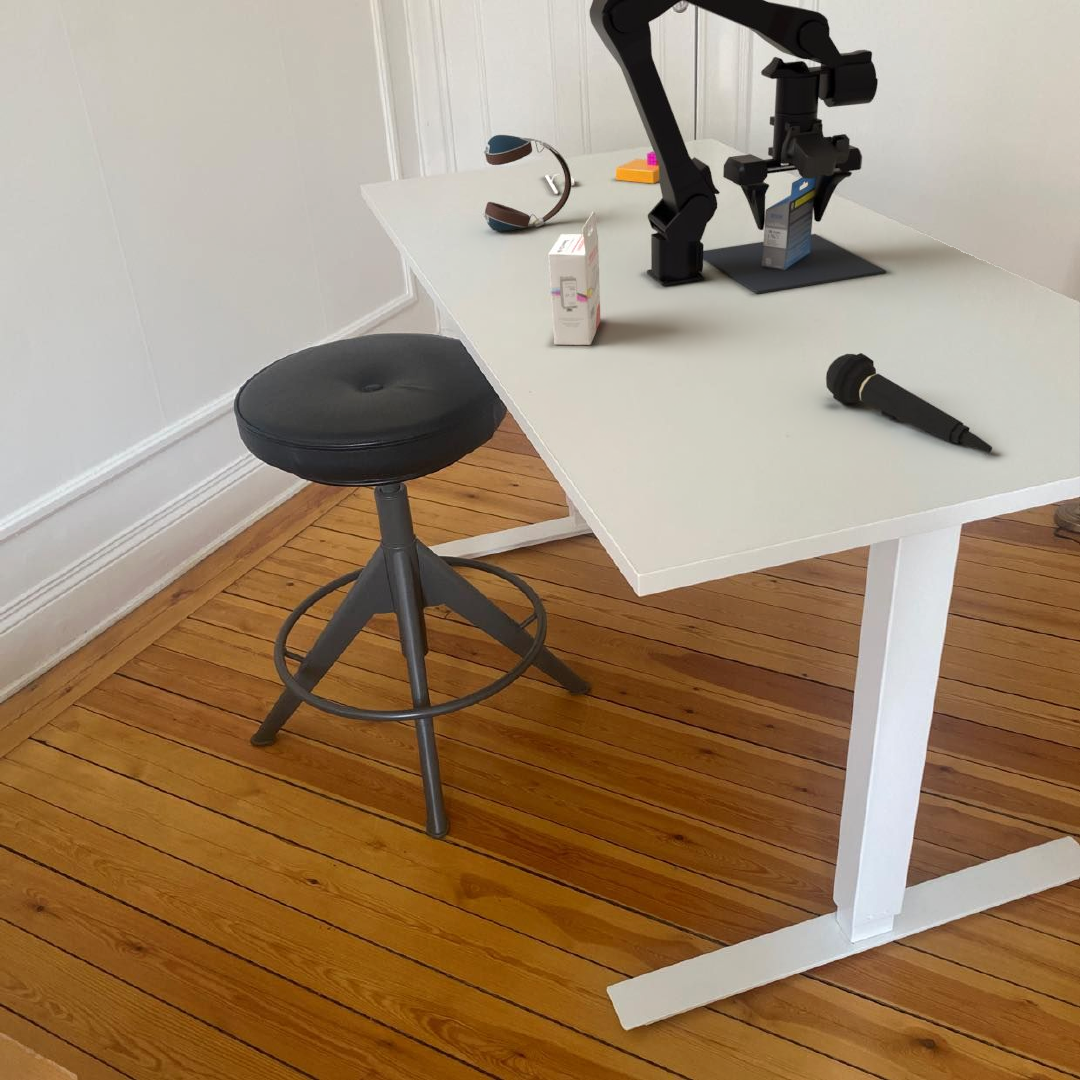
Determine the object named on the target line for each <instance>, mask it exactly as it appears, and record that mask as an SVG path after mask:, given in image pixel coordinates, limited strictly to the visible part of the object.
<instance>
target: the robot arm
mask: <svg viewBox="0 0 1080 1080" xmlns="http://www.w3.org/2000/svg"><path fill="white" fill-rule="evenodd" d="M681 2H685V3H687V4H689V5H692V6H694V7H697V8H698V9H701V10H704V11H706V12H708V13H711V14H712V15H713V14H714V15H716V16H718V17H720V18H723V19H726V20H728V21H730V22H732V23H735V24H738V25H740V26H743V27H745V28H747V29H749V30H750V31H752V32H753V33H755V34H756V35H757V36H758V37H760V38H761V39H762V40H763V41H764V42H766V43H768V44H769V45H771V46H772V47H774V48H775V49H777V50H778V51H780V52H781V53H783V54H787V55H789V56H792V57H796V58H798V59H801V60H798V61H797V60H796V61H788V62H784V60H783V59H782V58H780V57H777V56H774V57H773V58H772V60H771V61H770V62H769V63H768V64H767V65H766V66H765V67H764V68H763V69H762V70H761V72H760V74H761V76H763V77H766V78H768V79H771V80H775V98H774V115H773V116H769V125H770V126H773V138H772V139H773V140H772V146H769V147H768V149H767V155H768V156H770V157H771V158H768V159H763V158H761V157H759V156H756V155H754V154H751V153H749V154H741V155H740V154H739V155H734V156H728V157H727V159H726V161H725V162H724V164H723V175H722V176H723V178H724V179H726V180H728V181H729V182H732V183H733V184H735V185H737V186H739V187H740V188H741V190H742V193H743V195H744V196H745V198H746V200H747V203H748V205H749V208H750V211H751V214H752V216H753V219H754V221H755V225H756V227H757V229H758V230H760V231H764V228H765V214H766V194H767V191H768V189H769V187H770V184H768V183H766V182H765V180H766V179H767V178H768V174H769V175H770V174H775V173H783V172H791V171H798V174H799V176H800V177H801V178H802V177H803V178H807V179H810V178H813V177H815V176H817V179H816V184H815V193H814V204H813V219H814V221H815V222H817V223H819V222H821V221H822V218H823V216H824V214H825V212H826V209H827V207H828V205H829V202H830V201H831V198H832V197H833V194H834V192H835V190H836V188H837V186H838V185H839V184H840V183H841V182H842V181H843V180H844V179H846V178H850V177H851V176H852V174H853V171H860V170H861V169H862V165H863V155H862V152H861V150H860V148H859V147H856V146H854V145H851V144H850V137H849V136H847V134H845V133H842V134H835V135H832V136H831V135H830V136H824V132H823V127H824V126H823V125H824V124H823V119H822V118H821V119H820V118H819V117H818V113H819V111H818V110H819V100H820V101H823V103H824V105H825V106H826V107H827V108H834V107H843V106H844V107H846V106H856V105H865V104H870V103H871V102H872V101H873V100H875V99H874V98H875V96H876V93H877V90H878V84H879V83H878V82H879V79H878V78H877V71H876V67H875V64H874V62H873V60H872V59H873V51H871V50H867V49H857V50H854V51H851V52H840V51H839V49H838V47H837V46H836V44H835V43H834V41H833V39H832V38H831V37H830V25H829V19H828V18H827V17H826V16H825V15H824V14H822V13H821V12H819V11H815V10H812V9H807V8H802V7H799V6H792V5H788V4H782V3H777V2H772V1H767V0H592V2H591V5H590V8H589V19H590V23H591V25H592V27H593V29H594V31H595V32H596V33H597V35H598V36H599V38H600V40H601V41H602V43H603V45H604V46H605V47H606V49H607V51H608V52H609V53H610V54H611V56H612V58H613V59H614V60H615V62H616V63H617V64H618V66H619V68H620V69H621V72H622V75H623V77H624V79H625V82H626V85H627V88H628V89H629V92H630V95H631V98H632V100H633V102H634V106H635V107H636V111H637V113H638V115H639V117H640V120H641V123H642V125H643V127H644V130H645V133H646V135H647V137H648V141H649V143H650V145H651V148H652V150H653V152H654V153H655V156H656V158H657V161H658V164H659V180H660V181H659V187H660V191H661V196H662V198H661V199H660V200H659V201H658V202H657V203H656V204H655V205H654V207H653V208H652V209H651V210H650V211H649V212H648V213H647V219H648V222H649V224H650V228H651V229H653V230H654V231H656V233H651V237H650V240H651V241H650V247H651V250H650V252H651V253H650V254H651V260H650V264H651V266H650V267H651V268H650V269H647V270H646V274H647V275H648V276H649V277H651V278H652V279H653V280H654V281H656V282H657V283H658V284H660V285H661V286H664V287H665V286H672V285H678V284H685V283H691V282H698V281H703V280H705V278H706V277H705V274H703V273H702V272H703V271H704V259H703V251H704V243H703V242H702V238H703V236H704V233H705V230H706V228H707V225H708V223H709V222H710V221H711V220H712V219H713V218H714V216H715V213H716V211H717V210H718V200H717V197H716V195H720V193H721V192H720V191H719V189H717V187H716V186H715V183H714V180H713V177H712V175H713V174H712V171H711V167H710V165H708V164H707V163H705V162H703V161H702V160H700V159H699V158H698V157H696V156H694V157H693V158H691V156H690V154H689V152H688V149H687V145H686V143H685V141H684V138H683V135H682V133H681V130H680V128H679V127H680V126H679V124H678V123H677V120H676V117H675V115H674V111H673V109H672V107H671V103H670V101H669V99H668V96H667V93H666V90H665V88H664V85H663V82H662V80H661V77H660V74H659V72H658V69H657V66H656V63H655V62H654V59H653V53H652V52H653V51H652V31H651V26H650V22H652V21H654V20H656V19H657V18H660V17H661V16H662V15H663V14H665V13H666V12H667V11H669V10H670V9H671V8H673V7H674V6H675V5H677V4H679V3H681ZM804 60H809V61H812V62H815V63H817V64H820V66H808V64H807V63H806V62H805V61H804Z"/></svg>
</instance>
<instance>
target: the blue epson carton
mask: <svg viewBox="0 0 1080 1080" xmlns="http://www.w3.org/2000/svg"><path fill="white" fill-rule="evenodd" d="M816 179H817V176H815V177H813V178H810V179H807V178H803V177H802V176H801V178H798V179H797V180H795V181H793V182H792V183H791V189H790V194H789V195H788V196H786V197H785V198H783V199H782V200H780V201H778V202H776V203H774V204H773V205H771V206H769V207H767V208H765V223H764V229H763V242H764V243H763V258H762V266H763V267H766V268H772V269H779V270H786V269H787V268H788V267H790V266H791V265H793V264H794V263H796V262H797V261H798V260H800V259H801V258H803V257H804V256H806V255H807V254H809V253H810V244H811V234H812V230H813V219H814V210H813V204H814V193H815V184H816ZM804 184H807V185H806V186H804V187H803V188H801V187H802V186H803V185H804ZM800 188H801V189H800Z"/></svg>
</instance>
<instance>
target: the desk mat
mask: <svg viewBox="0 0 1080 1080" xmlns="http://www.w3.org/2000/svg"><path fill="white" fill-rule="evenodd" d="M763 243H764V241H760V242H753V243H747V244H740V245H735V246H734V245H733V246H725V247H720V248H713V249H706V250H703V261H706V262H707V263H709V264H710V265H712V266H713V267H715V268H716V269H717V270H719V271H721V272H722V273H724V274H725V275H727V276H728V277H730V278H731V279H733V280H734V281H736V282H737V283H739V284H741V285H742V286H743V287H745V288H746V289H748V290H749V291H751V292H753V293H754V294H755V295H759V294H765V293H771V292H778V291H784V290H790V289H795V288H801V287H809V286H814V285H820V284H826V283H833V282H839V281H844V280H850V279H857V278H863V277H870V276H875V275H882V274H886V273H887V270H886V269H884V268H882V267H880V266H879V265H877V264H874V263H873V262H870V261H869V260H866V259H865V258H863V257H861V256H859V255H857V254H855V253H853V252H851V251H849V250H847V249H846V248H844V247H841V246H839V245H838V244H836V243H834V242H832V241H830V240H827V239H826V238H824V237H822V236H820V235H818V234H816V233H813V234H812V233H811V244H810V253H809V254H807V255H806V256H804V257H803V258H801V259H800V260H798V261H797V262H796V263H794V264H793V265H791V266H790V267H788V268H787V269H786V270H779V269H772V268H766V267H763V266H762V258H763Z"/></svg>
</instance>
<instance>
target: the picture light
mask: <svg viewBox="0 0 1080 1080" xmlns="http://www.w3.org/2000/svg"><path fill="white" fill-rule="evenodd" d="M557 176H559V174H558V173H555V174H554V175H553V176H552V177H550V175H549V174H546V175H545V179H546V180H547V182H548V184H549V185H550V187H551V189H552V190H553V193H554V194H555V195H558V194H559V190H558V188H557V187H556V185H555V184H554V181H553V180H554V179H555V177H557ZM560 176H562V177H563V178H564V179H565V175H564V174H562V173H560ZM573 186H575V179H574V178H573V176H572V175H571V187H573Z"/></svg>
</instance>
